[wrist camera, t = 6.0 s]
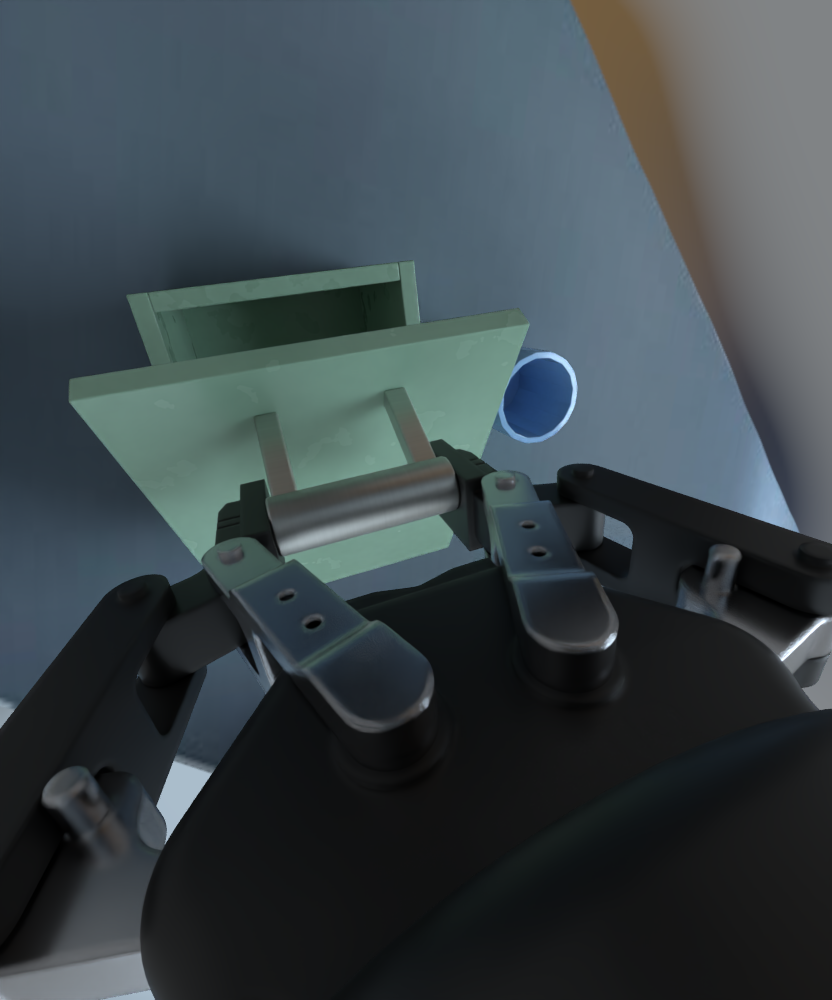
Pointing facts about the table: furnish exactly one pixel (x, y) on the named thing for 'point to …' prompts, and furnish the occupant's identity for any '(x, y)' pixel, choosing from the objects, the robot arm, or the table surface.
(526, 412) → the cup
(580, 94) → the table surface
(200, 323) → the green box
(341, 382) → the lid
